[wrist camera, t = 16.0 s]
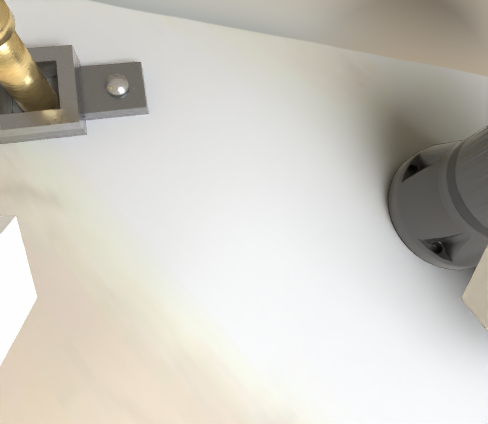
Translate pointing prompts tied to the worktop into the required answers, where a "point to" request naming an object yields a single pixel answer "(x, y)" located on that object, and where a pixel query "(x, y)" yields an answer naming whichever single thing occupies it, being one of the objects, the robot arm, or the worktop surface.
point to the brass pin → (22, 69)
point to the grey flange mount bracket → (75, 96)
